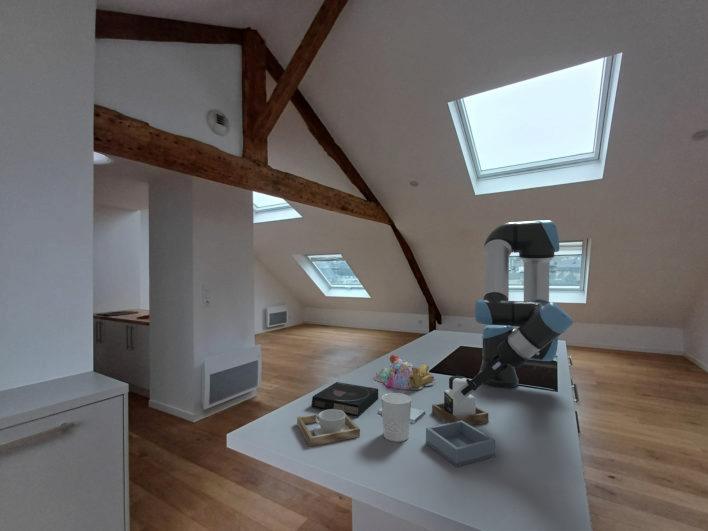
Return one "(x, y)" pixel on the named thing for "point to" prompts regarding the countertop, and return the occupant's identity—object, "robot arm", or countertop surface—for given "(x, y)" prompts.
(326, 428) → the teacup
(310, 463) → the countertop surface
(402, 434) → the white cup
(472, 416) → the walnut holder
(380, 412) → the hard drive
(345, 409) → the portable cd player
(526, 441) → the countertop surface
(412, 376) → the candy landscape model
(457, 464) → the grey tray
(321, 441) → the oak cup rest
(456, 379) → the medicine bottle
